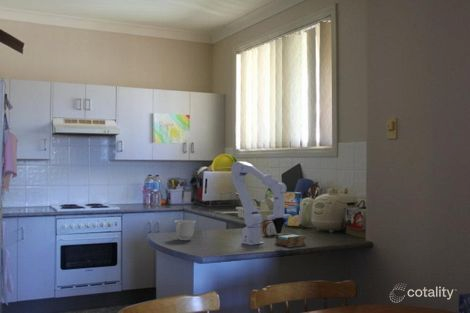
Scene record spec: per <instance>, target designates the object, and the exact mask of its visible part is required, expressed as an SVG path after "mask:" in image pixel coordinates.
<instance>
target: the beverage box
mask: <svg viewBox="0 0 470 313" xmlns="http://www.w3.org/2000/svg"><path fill="white" fill-rule="evenodd" d="M284 197H285V198H284V214H290V218H284V219H285V222H284V224H283V226H288V227H289V226H291V227H293V226H294V227H300V226H299V211H300V204H301V201H302V202H303V192H302V191H300V192H299V191H298V192H297V191H286V192H285V196H284Z"/></svg>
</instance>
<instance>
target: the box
mask: <svg viewBox="0 0 470 313" xmlns="http://www.w3.org/2000/svg"><path fill="white" fill-rule="evenodd" d="M291 234H293V233H292V232H289V233H278V234H277V235H274V239H275V243H274V245H276V246H279V247H280V246H282V247H286V248H292V247H293V248H294V247H300V246H305V245H306V243H305V240H306V235H305V234H303V235H299V236H293V237H288V240H284V239H279V238H278V236H283V235H291Z"/></svg>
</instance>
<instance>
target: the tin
mask: <svg viewBox="0 0 470 313" xmlns="http://www.w3.org/2000/svg"><path fill="white" fill-rule="evenodd" d="M261 228H262V230H261V231H262V234H263V235H264V236H268V237H270V236H275V235H278V234H279V233H276V229H275V226H274V224H273V222H272V220H266V221H265V222H264V224H262V227H261Z"/></svg>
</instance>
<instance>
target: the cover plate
mask: <svg viewBox="0 0 470 313" xmlns="http://www.w3.org/2000/svg"><path fill="white" fill-rule="evenodd" d="M293 236H300V235H299V234H298V235H297V234H294V233H292V234H291V235H283V236H278V238H279V239H284V240H288V237H293Z"/></svg>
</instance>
